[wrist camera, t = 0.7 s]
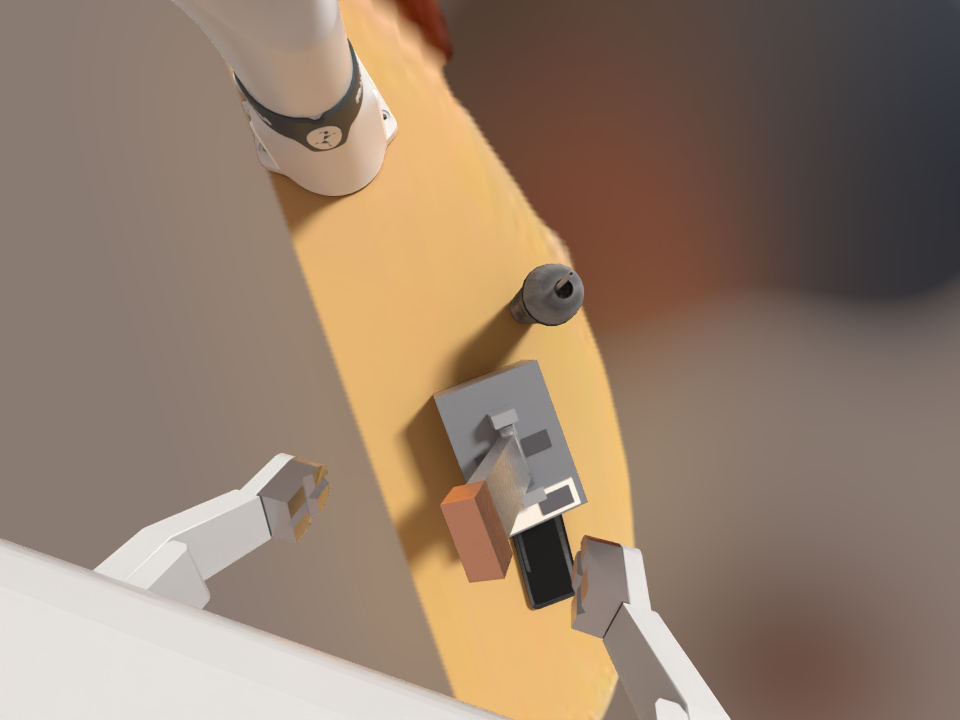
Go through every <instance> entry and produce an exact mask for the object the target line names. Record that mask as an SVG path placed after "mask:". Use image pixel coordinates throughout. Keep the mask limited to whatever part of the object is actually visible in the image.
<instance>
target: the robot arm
mask: <svg viewBox="0 0 960 720" xmlns="http://www.w3.org/2000/svg"><path fill="white" fill-rule="evenodd" d="M172 1H173V2H174V3H175V4H177V5H178V6H179V7H180V8H181V9H182V10H183V11H185V12H186V13H187V14H188V15H189V16H190V17H191V18H192V19H193V20H194V21H195V22H196V23H197V24H198V25H199V26H200V27H201V28H202V30H203V31H204V32H205V33H206V35H207V36H208V37H209V39H210V40H211V41H212V42H213V44H214V45H215V46H216V47H217V49H218V50H219V52H220V53H221V54H222V56H223V57H224V58H225V60H226V61H227V63H228V64H229V65H230V67H231V68H232V70H233V77H234V80H235V83H236V86H237V88H238V90H239V92H240V93H241V94H243V96H244V97H245V99H246V100H247V101H243V102H242V106H243V109H244V111H245V113H246V114H247V115H250V117H251V121H250V122H249V124H250V126H251V128H252V130H253V132H254V138H255V144H256V150H257V155H258V159H259V161H260V163H261V165H262V166H263V167H264V168H266V169H268V170H270V171H273V172H276V173H280V174H284V175H286V176H288V177H289V178H291V179H292V180H293V181H294V182H296V183H297V184H298V185H300V186H302V187H303V188H305V189H307V190H309V191H311V192H314V193H317V194H321V195H327V196H340V195H346V194H350V193H353V192H355V191H358V190H360V189H361V188H363V187H364V186H366V185H367V184H368V183H370V182H371V181H372V179H373V178H374V177H375V176H376V174H377V173H378V171H379V169H380V167H381V165H382V162H383V159H384V155H385V151H386V148H387V146H388V144H389V143H390V142H391V141H392V140H393V138H394V137H395V135H396V134H397V131H398V126H397V123H396V120H395V118H394V117H393V115H392V113H391V112H390V110H389V108H388V107H387V105H386V103H385V102H384V100H383V98H382V97H381V95H380V93H379V91H378V90H377V88H376V86H375V85H374V83H373V81H372V80H371V78H370V76H369V75H368V73H367V71H366V70H365V68H364V66H363V65H362V63H361V61H360V59H359V58H358V56H357V54H356V53H355V51H354V49H353V47H352V45H351V43H350V41H349V39H348V38H347V36H346V31H345V27H344V23H343V19H342V15H341V11H340V6H339V2H338V0H172ZM383 117H386V118H387V119H386V120H384V119H383ZM265 150H266V152H265ZM326 475H327V468H326V466H325V465H322V464H318V463H315V462H312V461H308V460H305V459H302V458H298V457H295V456H291V455H288V454H284V453H280V454H278V455H276V456H275V457H274V458H273V459H272V460H271V461H270V462H269V463H268V464H267V465H266V466H265V467H264V468H263V469H262V470H260V472H258V473H257V474H256V475H255V476H254V477H253V478H252V479H251V480H250V481H249V482H248V483H247V484H246V485H245V486H244V487H243V488H242V489H241V490H233V491H231V492H228V493H226V494H224V495H222V496H219V497H216V498H214V499H212V500H209V501H207V502H205V503H202V504H200V505H197V506H195V507H193V508H190V509H188V510H186V511H183V512H181V513H179V514H176V515H174V516H171V517H169V518H167V519H164V520H162V521H159V522H157V523H155V524H152V525H150V526H148V527H146V528H143V529H142V530H141V531H140V532H138V533H137V534H136V535H135V536H134V537H133V538H131V539H130V540H129V541H128V542H126V543H125V544H124V545H123V546H122V547H120V548H119V549H118V550H117V551H116V552H115V553H113V554H112V555H111V556H110V557H109V558H107V559H106V560H105V561H104V562H103V563H101V564H100V565H99V566H98V567H97V568H96V569H94V570H93V571H92V570H89V569H86V568H83V567H80V566H77V565H75V564H72V563H69V562H66V561H64V560H61V559H58V558H55V557H52V556H49V555H46V554H43V553H40V552H37V551H35V550H32V549H29V548H26V547H24V546H20V545H18V544H15V543H12V542H9V541H6V540H4V539H1V538H0V720H514V719H511V718H508V717H506V716H503V715H500V714H497V713H494V712H491V711H489V710H486V709H483V708H480V707H477V706H474V705H472V704H469V703H466V702H463V701H460V700H457V699H455V698H451V697H449V696H446V695H443V694H440V693H438V692H435V691H432V690H429V689H426V688H423V687H421V686H418V685H415V684H412V683H409V682H406V681H404V680H401V679H398V678H395V677H392V676H389V675H386V674H384V673H381V672H378V671H375V670H372V669H370V668H367V667H364V666H361V665H358V664H356V663H353V662H350V661H347V660H344V659H341V658H339V657H336V656H333V655H330V654H327V653H324V652H322V651H318V650H316V649H313V648H310V647H307V646H304V645H302V644H299V643H296V642H293V641H290V640H287V639H284V638H282V637H279V636H276V635H273V634H271V633H268V632H265V631H262V630H259V629H256V628H254V627H251V626H248V625H245V624H242V623H239V622H236V621H234V620H231V619H228V618H225V617H222V616H219V615H217V614H214V613H211V612H208V611H205V610H202V608H203V607H204V605H205V604H206V603H207V602H208V600H209V599H210V593H209V591H208V589H207V586H206V584H205V582H204V580H206V579H207V578H209V577H211V576H212V575H214V574H215V573H217V572H219V571H220V570H222V569H223V568H225V567H226V566H228V565H230V564H231V563H233V562H234V561H236V560H238V559H239V558H241V557H242V556H244V555H245V554H247V553H249V552H250V551H252V550H253V549H255V548H256V547H258V546H260V545H261V544H263V543H264V542H266V541H267V540H269V539H271V537H275V538H279V539H283V540H286V541H289V542H293V543H297V542H298V541H299V539H300V538H301V537H302V535H303V534H304V533H305V531H306V530H307V529H308V527H309V526H310V517H312V516H314V515H316V514H318V513H319V512H320V511H321V509H322V508H323V507H324V505H325V503H326V501H327V498H328V496H329V490H330V488H329V483H328V481H327V480H326V479H325V478H324V477H325V476H326ZM572 588H573V589H574V591H575V595H574V598H573V600H572V604H571V628H572V629H575V630H578V631H581V632H584V633H587V634H590V635H593V636H596V637H599V638H602V639H603V643H604V645H605V647H606V649H607V651H608V654H609V656H610V658H611V660H612V662H613V664H614V667H615V669H616V671H617V673H618V675H619V677H620V680H621V682H622V684H623V686H624V688H625V690H626V692H627V695H628V697H629V699H630V701H631V703H632V706H633V707H634V710H635V711H636V714H637V716H638V718H639V720H730V718H729V717H728V715H727V714H726V712H725V711H724V709H723V708H722V706H721V705H720V704H719V702H718V701H717V699H716V698H715V696H714V695H713V693H712V692H711V690H710V689H709V687H708V686H707V685H706V683H705V682H704V680H703V679H702V678H701V676H700V674H699V673H698V671H697V670H696V669H695V667H694V666H693V664H692V663H691V661H690V660H689V658H688V657H687V655H686V654H685V653H684V651H683V650H682V648H681V647H680V645H679V644H678V642H677V641H676V639H675V638H674V637H673V635H672V634H671V632H670V631H669V629H668V628H667V626H666V625H665V623H664V622H663V621H662V619H661V618H660V616H659V615H658V613H657V612H654V611H651V607H650V601H649V595H648V589H647V583H646V577H645V571H644V565H643V559H642V553H641V552H640V550H639V549H636V548H632V547H628V546H625V545H620V544H619V543H615V542H611V541H607V540H603V539H599V538H595V537H591V536H587V535H585V536H584V537H583V538H582V541H581V551H578V552H577V554H576V557H575V560H574V565H573V571H572Z"/></svg>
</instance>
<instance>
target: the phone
mask: <svg viewBox="0 0 960 720" xmlns="http://www.w3.org/2000/svg"><path fill="white" fill-rule="evenodd" d="M512 537H513V540H514V545H515V547H516V550H517V554H518V558H519V562H520V565H521V569H522V573H523V577H524V581H525V585H526V588H527V592H528V596H529V600H530V603H531V605H532V607H533V608H535V609H541V608H543V607H546V606H549V605H551V604H554V603H557V602H559V601H562V600H565V599H567V598H570V597H573V596H574V595H575V591H574V589H573V588H572V571H573V565H574V561H573V557H572V553H571V550H570V546H569V542H568V538H567V534H566V530H565V526H564V522H563V518H562V514H560V515H558V516H556V517H554V518H551V519H549V520H547V521H545V522H543V523H540V524H538V525H536V526H534V527H532V528H529V529H527V530H525V531H523V532H521V533H518V534H516V535H514V536H512Z"/></svg>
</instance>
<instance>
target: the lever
mask: <svg viewBox="0 0 960 720" xmlns="http://www.w3.org/2000/svg"><path fill="white" fill-rule="evenodd" d="M498 430H499V433H500V435H501V437H500V438H498V440H497V441H496V442H495V444H494V445H493V447H492V448H491V450H490V451H489V452H488V454H487V455H486V457H485V458H484V459H483V461H482V462H481V464H480V465H479V467H478V468H477V469H476V471H475V472H474V474H473V475H472V476H471V478H470V479H469V481H468V482H467V484H466V485H461V486H457V487H453V488H452V490H451V491H450V492H449V494H448V495H447V496H446V498H445V499H444V500H443V502H442V503H441V504H440V507H441V510H442V512H443V515H444V518H445V520H446V523H447V525H448V528H449V531H450V533H451V536H452V539H453V541H454V544H455V546H456V549H457V552H458V554H459V557H460V559H461V562H462V565H463V567H464V570H465V572H466V575H467V578H468V580H469V583H471V582H480V581H488V580H497V579H505V576H506V573H507V570H508V567H509V564H510V561H511V558H512V555H513V553H512V550H511V547H510V545H509V542H508V539H509V537H510V534H511V531H512V529H513V526H514V523H515V521H516V518H517V515H518V513H519V510H520V507H521V505H522V502H523V499H524V497H525V494H526V491H527V489H528V488H530V487H532V486H533V485H534V484H535V481H534V478H533V476H532V473H531V470H530V468H529V465H528V462H527V459H526V457H525V454H524V451H523V448H522V446H521V443H520V440H519V438H518V435H517V432H516V429H515V427H514V424H513V423H512V424H509V425H507V426H504V427H502V428H500V429H498Z"/></svg>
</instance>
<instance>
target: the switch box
mask: <svg viewBox="0 0 960 720" xmlns="http://www.w3.org/2000/svg"><path fill="white" fill-rule="evenodd" d="M433 396H434V400H435V402H436V405H437V408H438V410H439V413H440V416H441V418H442V421H443V424H444V426H445V429H446V431H447V434H448V437H449V439H450V442H451V445H452V447H453V450H454V453H455V455H456V458H457V461H458V463H459V466H460V469H461V471H462V474H463V477H464V479H465V482H466V484H467V482H468V481H469V479H470V478H471V476H472V475H473V474H474V472H475V471H476V469H477V468H478V467H479V465H480V464H481V462H482V461H483V459H484V458H485V457H486V455H487V454H488V452H489V451H490V450H491V448H492V447H493V445H494V444H495V442H496V441H497V440H498V438H500V437H501V435H500V433H499V430H498V429H500V428H502V427H504V426H507V425H509V424H512V423H513V424H514V427H515V429H516V432H517V435H518V438H519V440H520V443H521V446H522V448H523V451H524V454H525V457H526V459H527V462H528V465H529V468H530V470H531V473H532V476H533V478H534V481H535V484H534V485H533V486H532V487H530V488H528V489H527V491H526V494H525V497H524V499H523V502H522V505H521V507H520V510H519V513H518V515H517V518H516V521H515V523H514V526H513V529H512V531H511V534H510V537H512V536H514V535H516V534H518V533H521V532H523V531H525V530H527V529H529V528H532V527H534V526H536V525H538V524H540V523H543V522H545V521H547V520H549V519H551V518H554V517H556V516H558V515H560V514H562V513H565V512H567V511H569V510H571V509H573V508H576V507H578V506H580V505H582V504H585V503H587V502H588V501H587V498H586V495H585V493H584V490H583V487H582V484H581V482H580V479H579V476H578V473H577V470H576V468H575V465H574V462H573V459H572V456H571V454H570V451H569V448H568V445H567V443H566V440H565V437H564V434H563V431H562V429H561V426H560V423H559V420H558V417H557V415H556V412H555V409H554V406H553V404H552V401H551V398H550V395H549V392H548V390H547V387H546V384H545V381H544V378H543V376H542V373H541V370H540V367H539V364H538V362H537V360H521V361H518V362H516V363H513V364H510V365H508V366H505V367H503V368H500V369H497V370H495V371H492V372H489V373H487V374H484V375H482V376H479V377H476V378H474V379H471V380H469V381H466V382H463V383H461V384H458V385H456V386H453V387H450V388H448V389H445V390H442V391H440V392H437V393H435V394H433Z"/></svg>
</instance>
